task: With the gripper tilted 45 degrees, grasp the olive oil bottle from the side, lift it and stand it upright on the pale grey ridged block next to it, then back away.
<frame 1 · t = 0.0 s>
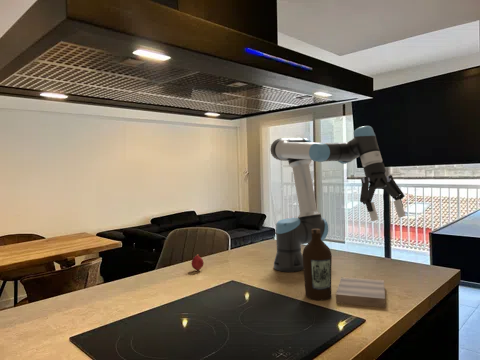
hand: (388, 218, 129), 28 cm above the counter, tool tilted 20°, fingers open, 13 cm apart
olive oil: (318, 296, 130), on the counter
onion: (197, 271, 170), on the counter
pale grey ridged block: (361, 294, 129), on the counter
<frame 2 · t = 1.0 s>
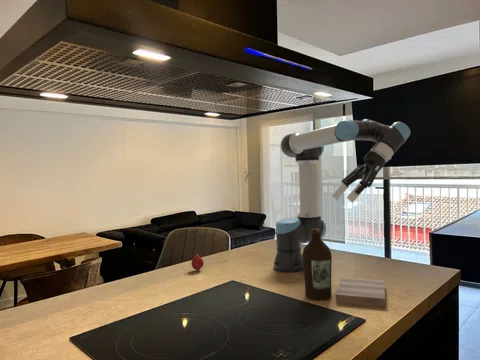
hand: (341, 198, 130), 36 cm above the counter, tool tilted 45°, fingers open, 13 cm apart
nothing on the counter moved.
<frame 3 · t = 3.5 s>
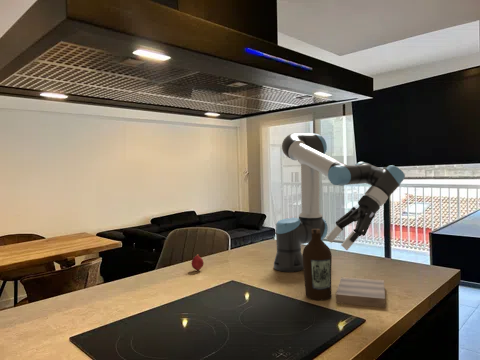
hand: (335, 243, 129), 19 cm above the counter, tool tilted 45°, fingers open, 13 cm apart
nothing on the counter moved.
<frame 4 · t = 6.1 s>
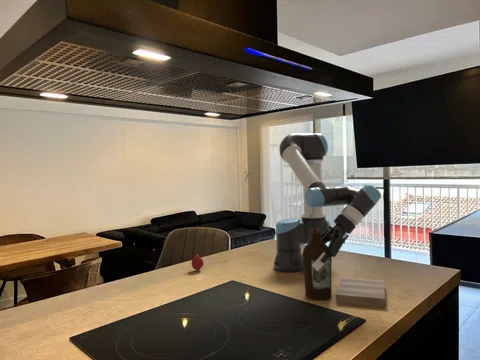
hand: (309, 264, 129), 12 cm above the counter, tool tilted 45°, fingers closed on olive oil, 11 cm apart
olive oil: (318, 296, 130), on the counter, touching gripper
everything else where it was.
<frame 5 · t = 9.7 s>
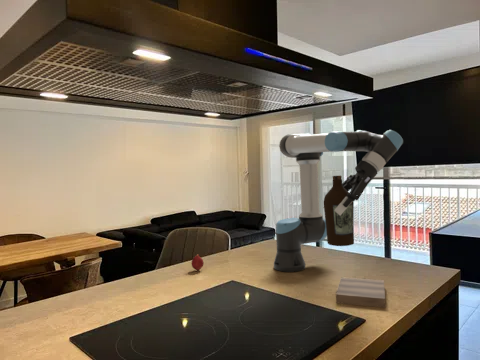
hand: (331, 211, 128), 32 cm above the counter, tool tilted 45°, fingers closed on olive oil, 10 cm apart
olive oil: (340, 244, 128), point 19 cm above the counter, touching gripper
everything else where it was.
when the fingers open (17 cm above the counter, at t = 13.6 s): olive oil drops 1 cm, resting on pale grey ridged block.
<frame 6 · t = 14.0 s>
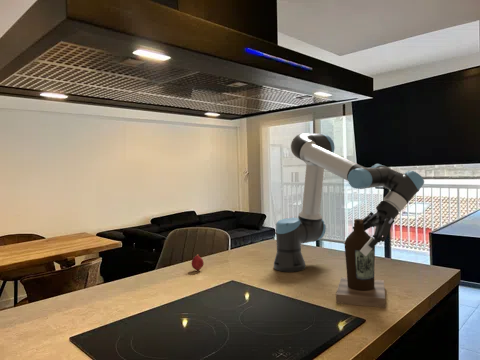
hand: (353, 249, 128), 17 cm above the counter, tool tilted 45°, fingers open, 13 cm apart
olive oil: (360, 287, 129), point 3 cm above the counter, touching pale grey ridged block
everything else where it was.
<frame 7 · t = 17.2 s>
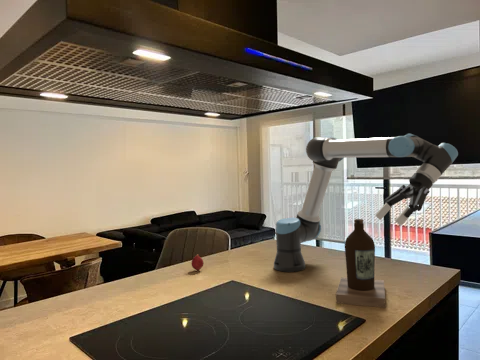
hand: (387, 220, 129), 27 cm above the counter, tool tilted 45°, fingers open, 13 cm apart
nothing on the counter moved.
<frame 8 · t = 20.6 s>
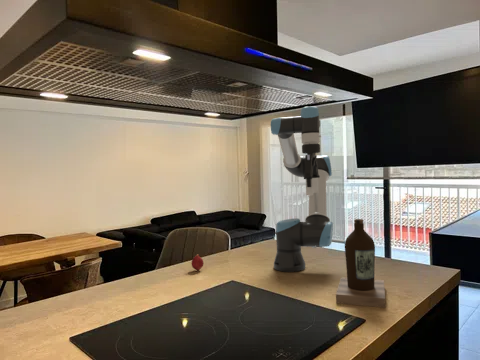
hand: (312, 193, 148), 37 cm above the counter, tool pointing down, fingers open, 13 cm apart
nothing on the counter moved.
at the end: olive oil inside the target area on the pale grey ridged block (0.2 cm from its centre), point 2.8 cm above the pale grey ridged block's base; olive oil tilted 0°; the gripper is holding nothing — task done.
